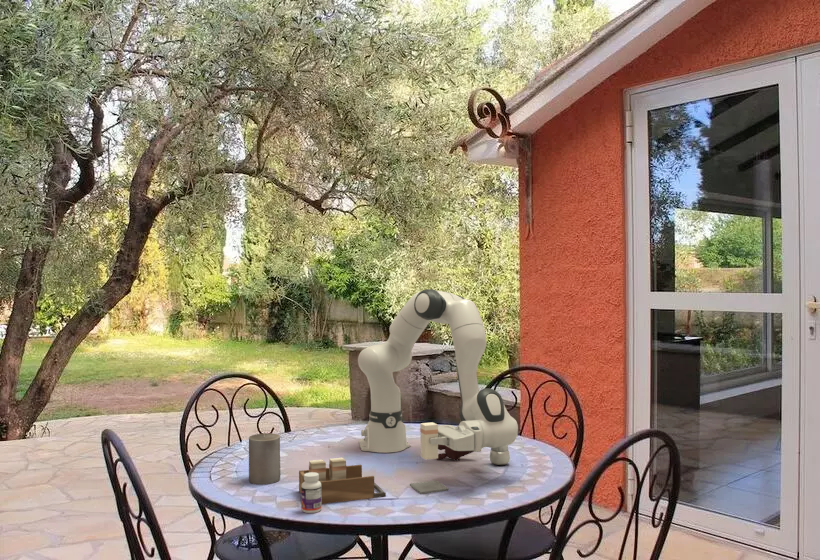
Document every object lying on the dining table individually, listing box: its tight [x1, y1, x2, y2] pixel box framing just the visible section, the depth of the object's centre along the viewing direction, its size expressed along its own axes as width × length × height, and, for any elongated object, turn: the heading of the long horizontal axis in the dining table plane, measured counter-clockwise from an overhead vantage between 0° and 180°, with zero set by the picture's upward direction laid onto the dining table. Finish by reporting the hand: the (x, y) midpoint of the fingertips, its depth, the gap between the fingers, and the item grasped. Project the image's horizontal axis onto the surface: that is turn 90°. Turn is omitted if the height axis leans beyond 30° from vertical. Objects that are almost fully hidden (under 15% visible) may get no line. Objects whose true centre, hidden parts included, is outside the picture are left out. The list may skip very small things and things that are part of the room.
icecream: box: [436, 444, 475, 461], centre depth 235 cm, size 7×7×15 cm
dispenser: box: [298, 457, 387, 505], centre depth 198 cm, size 14×22×10 cm, turn 110°
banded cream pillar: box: [419, 421, 439, 461], centre depth 203 cm, size 4×4×10 cm
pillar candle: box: [248, 432, 281, 486], centre depth 212 cm, size 10×10×15 cm
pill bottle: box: [300, 472, 323, 514], centre depth 183 cm, size 5×5×10 cm
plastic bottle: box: [489, 404, 511, 466], centre depth 229 cm, size 6×7×20 cm
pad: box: [409, 480, 450, 495], centre depth 203 cm, size 9×9×1 cm
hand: (426, 439), depth 202 cm, fingers closed on banded cream pillar, 4 cm apart
